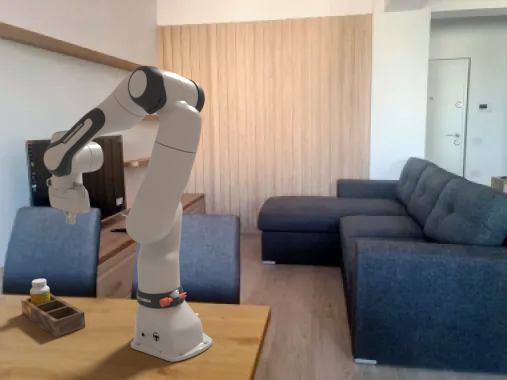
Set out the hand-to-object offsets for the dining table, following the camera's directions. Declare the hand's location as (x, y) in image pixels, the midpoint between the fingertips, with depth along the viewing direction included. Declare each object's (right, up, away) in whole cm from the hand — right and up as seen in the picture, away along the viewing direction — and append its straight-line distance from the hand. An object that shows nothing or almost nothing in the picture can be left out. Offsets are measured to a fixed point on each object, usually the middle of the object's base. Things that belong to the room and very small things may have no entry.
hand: (71, 223), depth 150 cm
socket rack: (-1, -28, -12) cm, 31 cm away
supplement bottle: (-6, -27, -8) cm, 28 cm away
